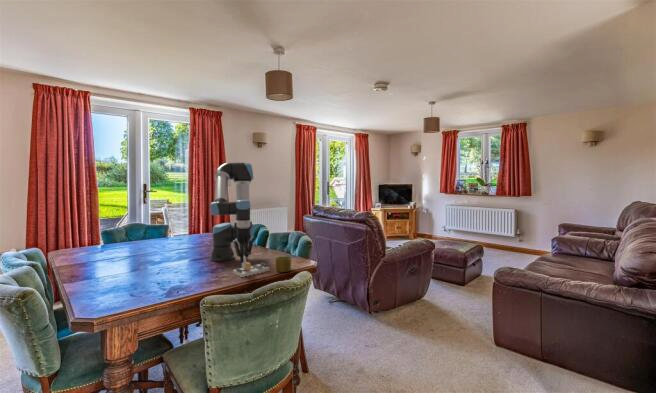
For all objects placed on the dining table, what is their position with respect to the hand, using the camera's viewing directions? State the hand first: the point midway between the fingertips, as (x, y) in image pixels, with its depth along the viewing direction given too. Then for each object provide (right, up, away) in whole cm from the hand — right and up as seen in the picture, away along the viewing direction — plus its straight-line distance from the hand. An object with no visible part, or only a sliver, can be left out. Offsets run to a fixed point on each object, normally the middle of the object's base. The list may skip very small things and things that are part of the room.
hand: (244, 267), depth 184 cm
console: (+3, -3, +4) cm, 6 cm away
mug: (+22, -3, +9) cm, 24 cm away
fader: (+1, -1, +1) cm, 2 cm away
